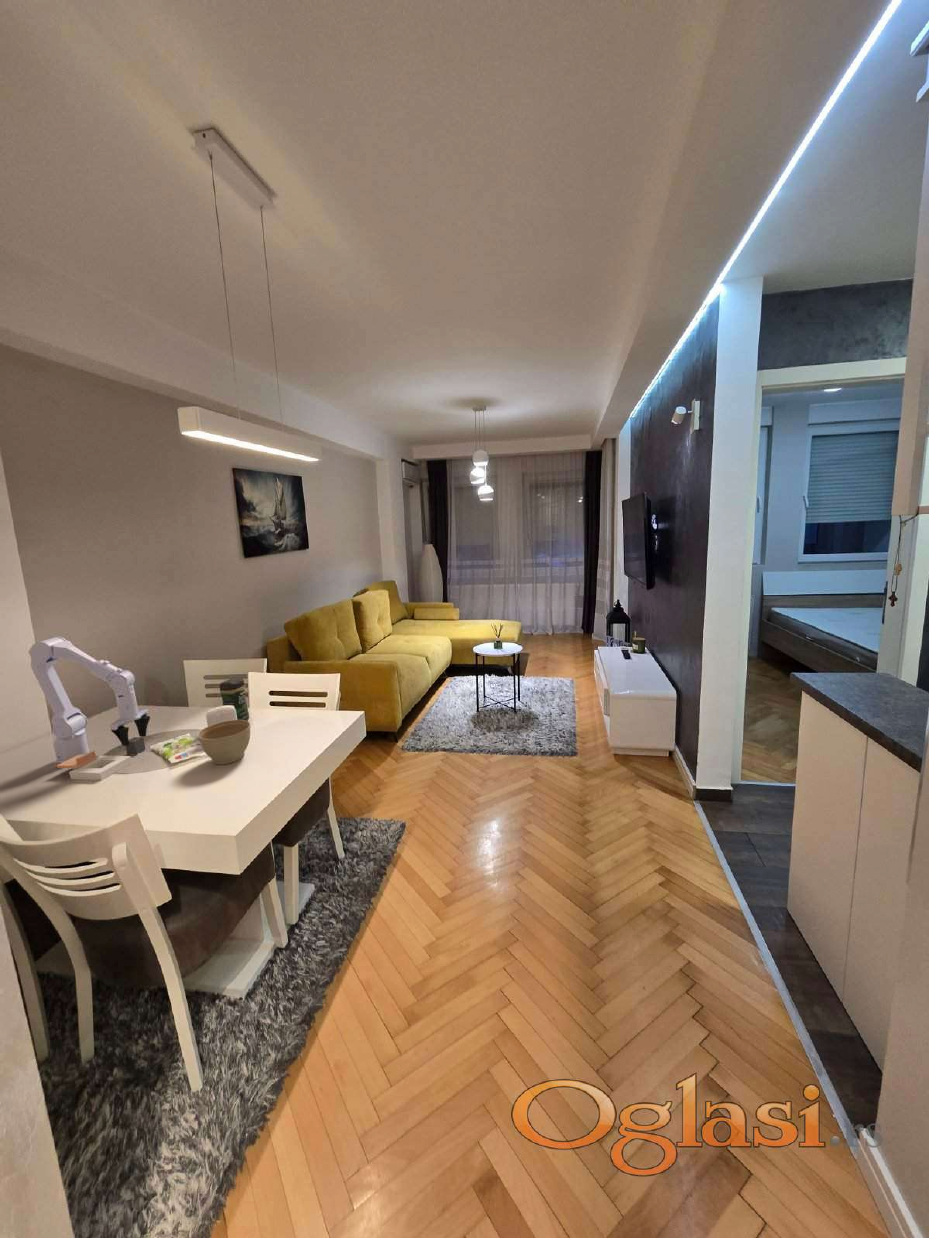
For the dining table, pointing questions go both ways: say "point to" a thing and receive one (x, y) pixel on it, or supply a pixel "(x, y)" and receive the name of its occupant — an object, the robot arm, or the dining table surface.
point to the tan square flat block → (78, 760)
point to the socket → (96, 772)
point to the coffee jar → (235, 696)
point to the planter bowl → (225, 740)
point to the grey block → (135, 746)
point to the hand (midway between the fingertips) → (134, 740)
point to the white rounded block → (221, 714)
